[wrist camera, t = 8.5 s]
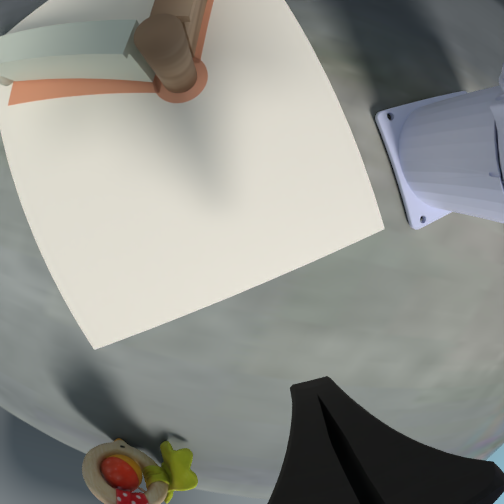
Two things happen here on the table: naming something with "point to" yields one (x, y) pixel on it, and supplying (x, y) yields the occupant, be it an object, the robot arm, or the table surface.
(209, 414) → the table surface
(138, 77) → the fence gate
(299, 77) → the board
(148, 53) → the bar
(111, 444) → the bird rattle
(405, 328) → the table surface
